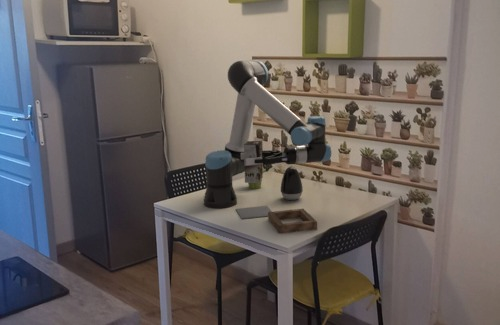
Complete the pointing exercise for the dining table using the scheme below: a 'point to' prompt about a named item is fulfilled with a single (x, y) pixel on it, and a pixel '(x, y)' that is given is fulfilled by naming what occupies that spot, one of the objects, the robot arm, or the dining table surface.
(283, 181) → the dark rounded canister
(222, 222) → the dining table surface
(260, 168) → the coffee box
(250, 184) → the plant pot
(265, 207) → the grey rubber mat
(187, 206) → the dining table surface
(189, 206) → the dining table surface
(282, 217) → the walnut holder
